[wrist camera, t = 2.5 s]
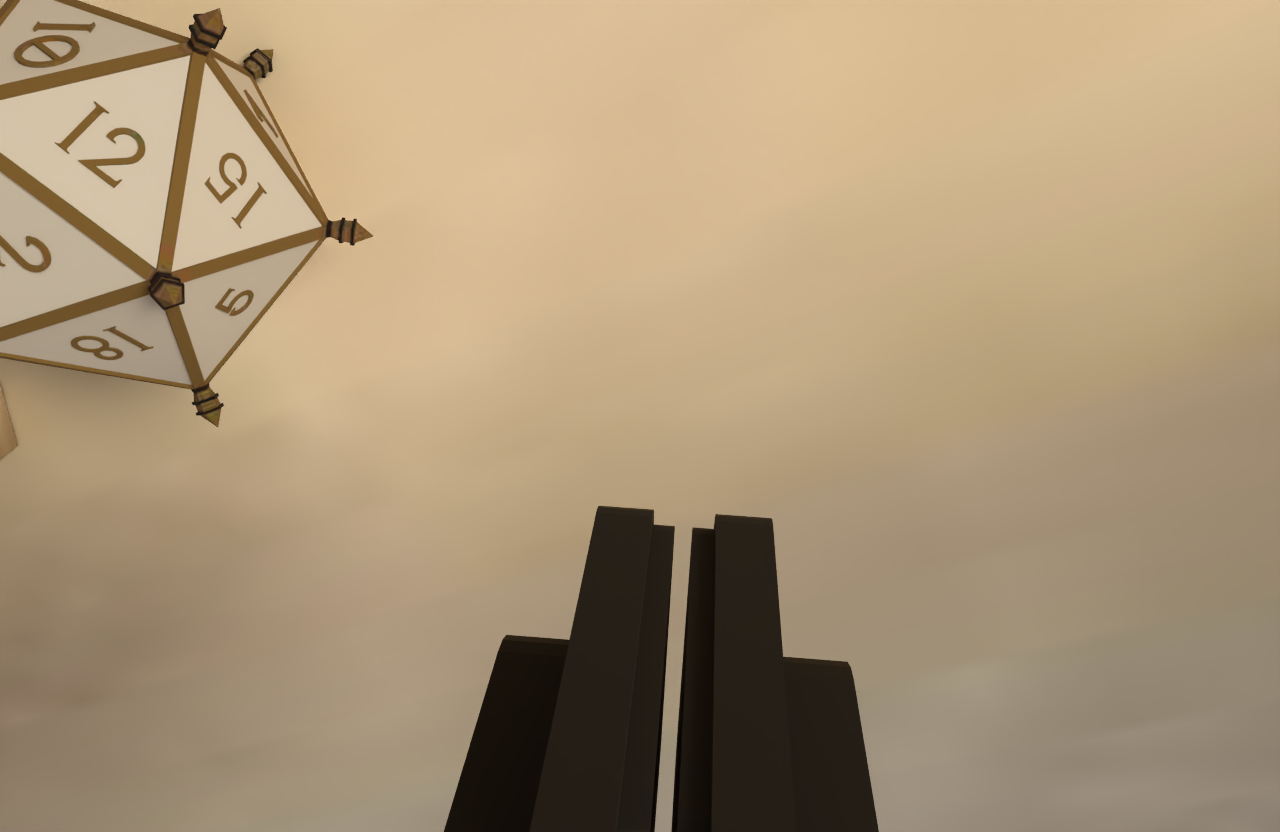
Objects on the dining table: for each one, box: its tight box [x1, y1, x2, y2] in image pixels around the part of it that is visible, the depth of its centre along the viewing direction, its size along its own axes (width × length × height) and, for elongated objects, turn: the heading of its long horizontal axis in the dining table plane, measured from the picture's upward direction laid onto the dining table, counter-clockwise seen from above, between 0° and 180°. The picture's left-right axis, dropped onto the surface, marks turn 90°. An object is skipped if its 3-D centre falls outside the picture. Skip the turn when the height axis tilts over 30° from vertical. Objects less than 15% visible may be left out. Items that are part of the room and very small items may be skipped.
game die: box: [0, 0, 373, 427], centre depth 20 cm, size 9×8×10 cm
